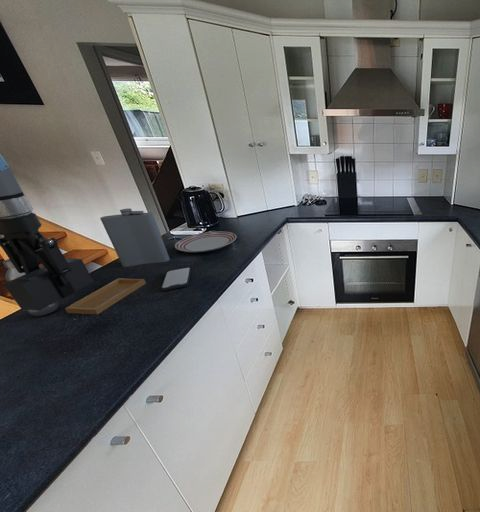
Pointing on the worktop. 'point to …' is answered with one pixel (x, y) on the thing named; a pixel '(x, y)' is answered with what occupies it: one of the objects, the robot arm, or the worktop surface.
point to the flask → (135, 237)
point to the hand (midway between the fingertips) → (59, 294)
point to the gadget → (45, 286)
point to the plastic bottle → (14, 274)
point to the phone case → (176, 279)
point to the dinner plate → (205, 242)
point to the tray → (105, 296)
